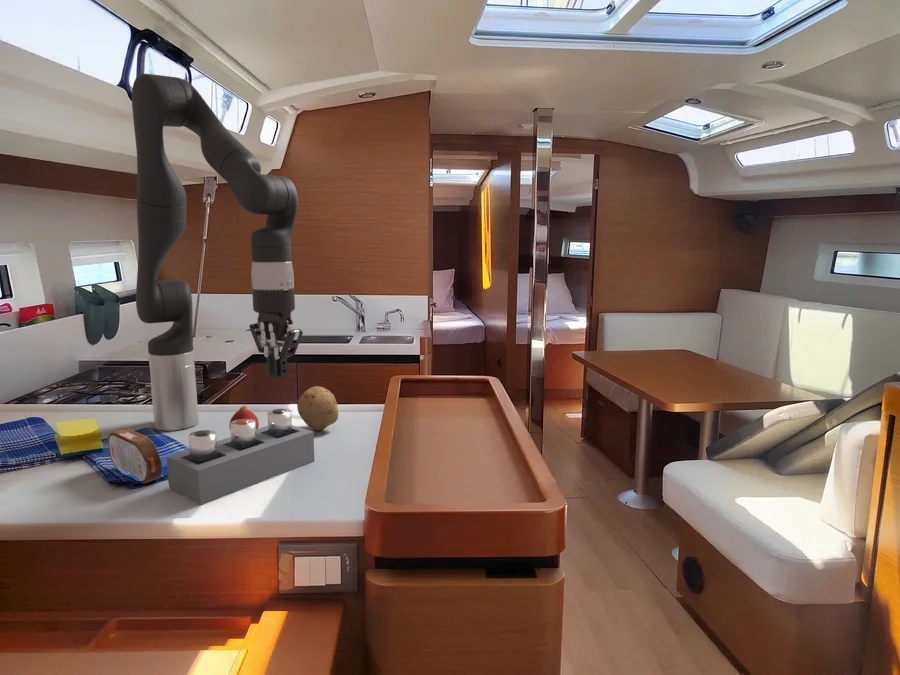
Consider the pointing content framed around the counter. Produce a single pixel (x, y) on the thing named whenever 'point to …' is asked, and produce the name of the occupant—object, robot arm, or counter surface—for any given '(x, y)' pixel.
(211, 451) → the knob
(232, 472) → the mount
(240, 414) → the onion
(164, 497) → the counter surface
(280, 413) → the knob
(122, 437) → the tin
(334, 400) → the brown oval lump
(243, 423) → the knob mid
